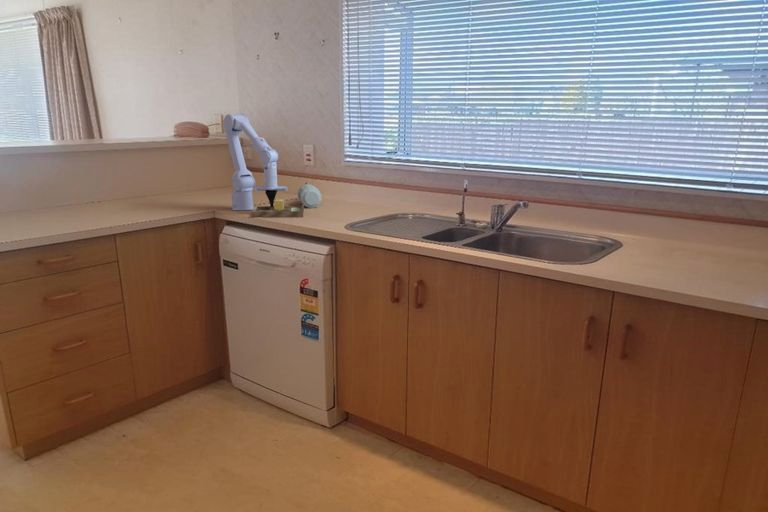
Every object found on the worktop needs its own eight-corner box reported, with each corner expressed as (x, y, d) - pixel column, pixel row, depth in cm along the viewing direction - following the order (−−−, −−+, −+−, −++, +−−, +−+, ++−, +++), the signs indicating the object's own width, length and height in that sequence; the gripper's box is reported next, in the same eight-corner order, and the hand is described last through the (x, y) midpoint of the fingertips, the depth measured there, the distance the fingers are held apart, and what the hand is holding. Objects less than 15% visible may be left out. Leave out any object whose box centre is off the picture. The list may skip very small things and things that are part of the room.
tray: (253, 217, 240) (253, 208, 239) (257, 211, 253) (256, 203, 252) (302, 217, 242) (302, 208, 241) (303, 211, 255) (303, 203, 254)
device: (322, 207, 263) (321, 187, 261) (301, 208, 261) (300, 187, 258) (312, 198, 293) (312, 179, 290) (293, 199, 290) (293, 180, 287)
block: (274, 209, 248) (274, 200, 247) (275, 207, 252) (274, 199, 250) (283, 209, 248) (283, 201, 247) (283, 208, 252) (283, 199, 251)
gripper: (253, 178, 241) (254, 208, 245) (286, 178, 242) (287, 207, 246) (255, 176, 248) (256, 205, 251) (287, 176, 249) (288, 205, 253)
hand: (272, 206), depth 249 cm, fingers closed
